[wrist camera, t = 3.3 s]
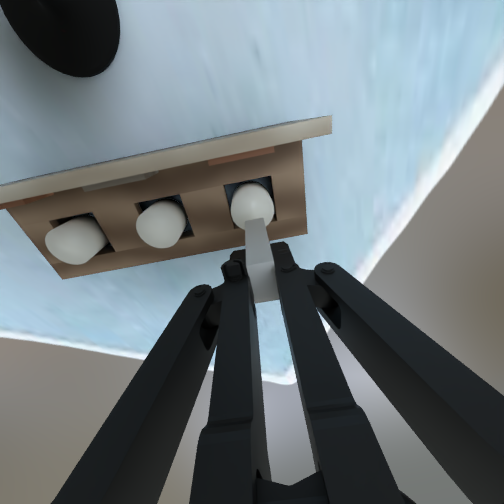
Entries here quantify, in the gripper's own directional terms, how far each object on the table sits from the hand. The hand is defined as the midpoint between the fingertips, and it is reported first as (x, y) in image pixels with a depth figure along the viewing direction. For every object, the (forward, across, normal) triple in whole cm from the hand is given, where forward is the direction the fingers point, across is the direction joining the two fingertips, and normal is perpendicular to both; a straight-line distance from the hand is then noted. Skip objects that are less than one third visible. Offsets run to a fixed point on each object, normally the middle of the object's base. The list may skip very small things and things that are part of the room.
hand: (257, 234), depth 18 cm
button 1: (+9, -20, 0) cm, 22 cm away
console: (+13, -10, +1) cm, 17 cm away
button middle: (+9, -10, 0) cm, 13 cm away
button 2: (+9, 0, 0) cm, 9 cm away
